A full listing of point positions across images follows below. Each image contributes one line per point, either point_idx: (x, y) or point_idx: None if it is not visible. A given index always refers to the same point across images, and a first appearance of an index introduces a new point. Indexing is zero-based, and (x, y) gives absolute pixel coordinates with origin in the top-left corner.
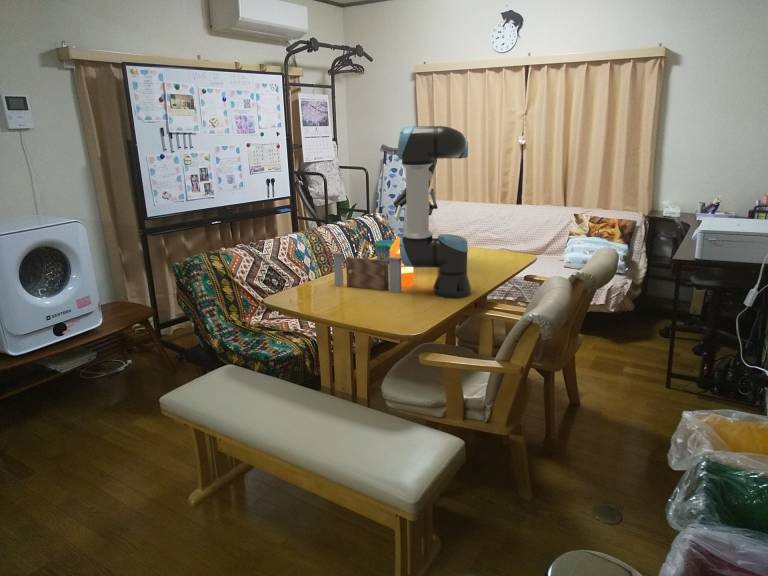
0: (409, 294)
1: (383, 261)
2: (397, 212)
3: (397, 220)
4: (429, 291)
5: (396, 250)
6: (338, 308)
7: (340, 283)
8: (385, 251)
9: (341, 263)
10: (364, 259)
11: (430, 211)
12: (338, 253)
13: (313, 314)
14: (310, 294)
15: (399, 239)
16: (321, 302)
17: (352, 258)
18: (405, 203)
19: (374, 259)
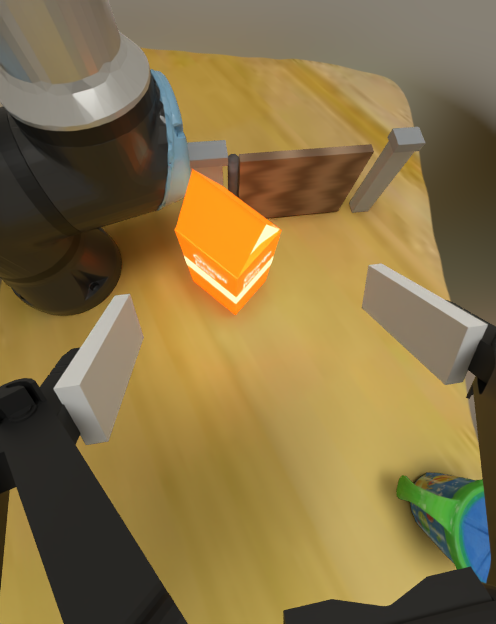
0: (168, 215)
1: (241, 155)
2: (401, 283)
3: (365, 302)
4: (132, 255)
5: (228, 191)
6: (254, 95)
7: (353, 198)
8: (445, 488)
9: (379, 165)
10: (307, 149)
11: (61, 366)
12: (402, 132)
13: (272, 60)
14: (361, 135)
15: (238, 202)
16: (305, 108)
17: (348, 147)
18: (484, 442)
19: (277, 156)
